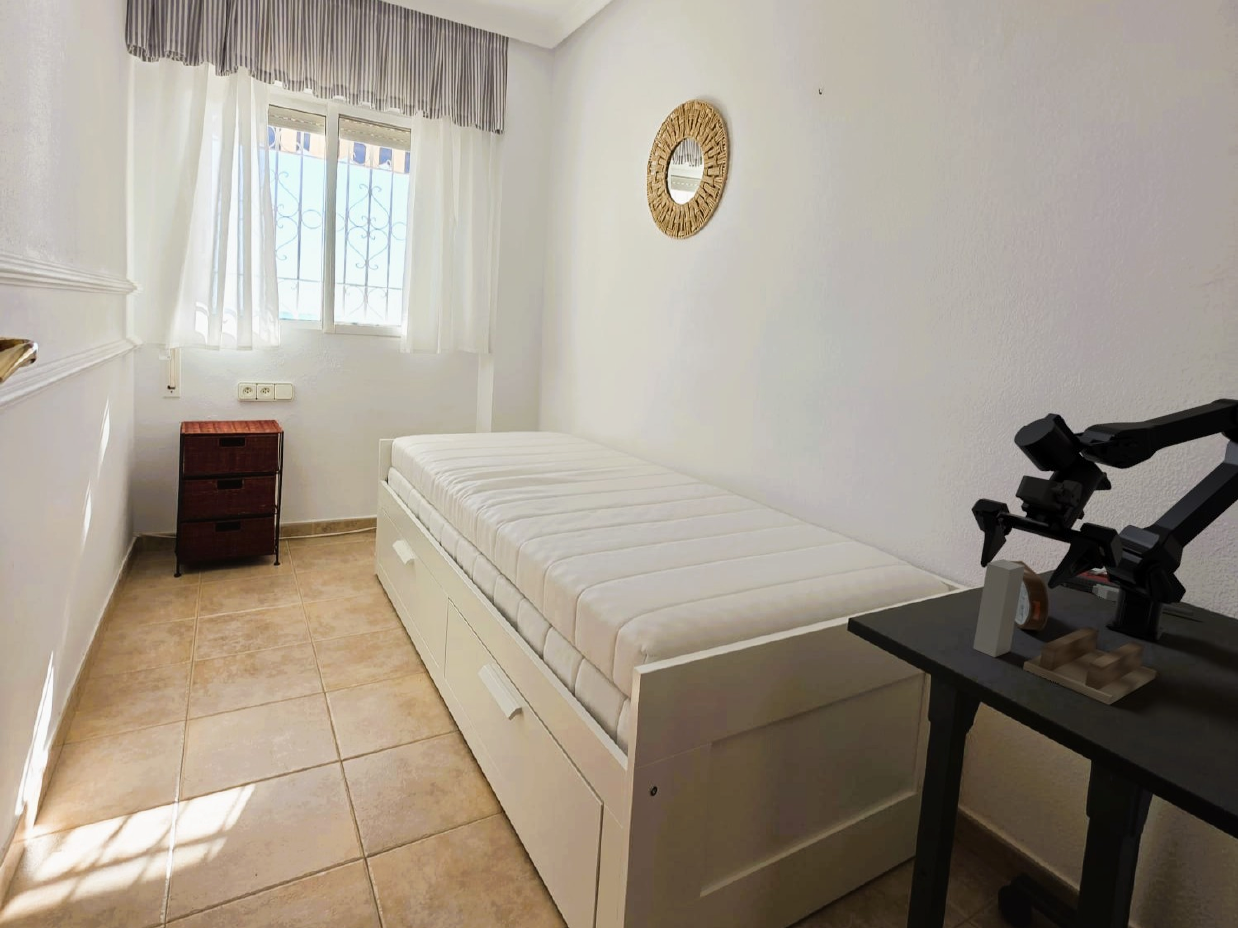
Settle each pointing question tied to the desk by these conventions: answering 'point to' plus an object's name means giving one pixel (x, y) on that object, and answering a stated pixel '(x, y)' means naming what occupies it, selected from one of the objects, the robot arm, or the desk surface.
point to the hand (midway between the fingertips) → (1014, 575)
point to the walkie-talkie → (1107, 588)
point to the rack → (1092, 666)
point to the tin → (1032, 601)
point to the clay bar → (998, 607)
